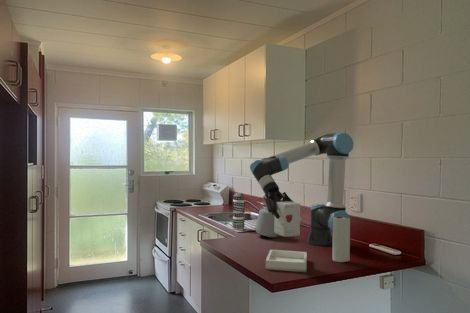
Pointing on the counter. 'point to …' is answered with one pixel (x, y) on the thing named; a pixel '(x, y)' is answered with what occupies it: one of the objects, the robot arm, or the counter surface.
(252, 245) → the counter surface
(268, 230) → the jar
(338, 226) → the paper towel roll
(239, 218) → the decorative candle
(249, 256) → the counter surface
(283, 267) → the ceramic dish
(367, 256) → the counter surface
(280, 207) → the supplement box
